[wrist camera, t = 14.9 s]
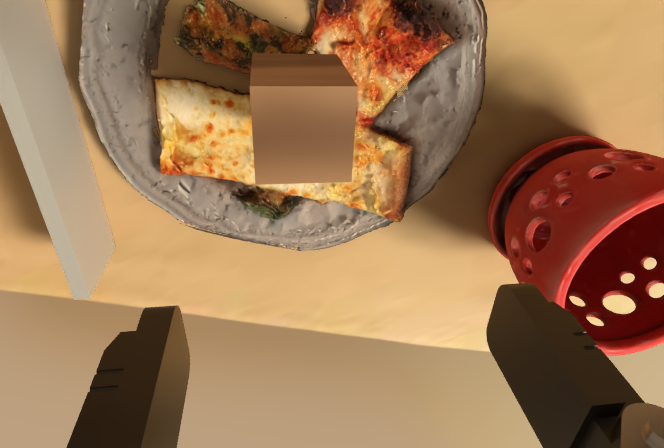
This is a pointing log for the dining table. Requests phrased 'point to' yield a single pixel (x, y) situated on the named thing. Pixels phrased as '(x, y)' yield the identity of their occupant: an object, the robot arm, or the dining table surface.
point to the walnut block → (302, 118)
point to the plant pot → (587, 233)
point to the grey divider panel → (52, 143)
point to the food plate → (236, 124)
